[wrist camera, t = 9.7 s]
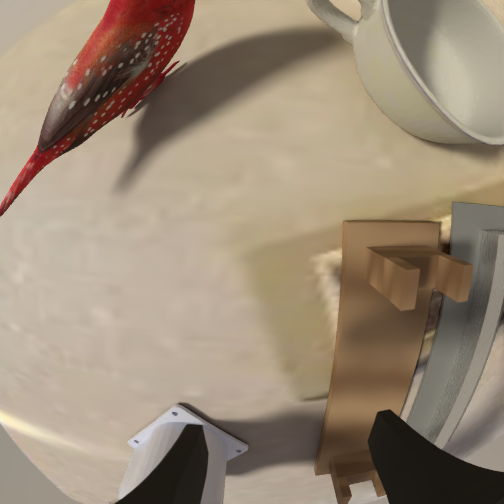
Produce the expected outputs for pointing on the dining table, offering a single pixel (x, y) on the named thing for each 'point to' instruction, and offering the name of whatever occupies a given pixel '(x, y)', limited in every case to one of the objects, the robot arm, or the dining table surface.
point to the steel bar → (472, 338)
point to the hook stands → (380, 335)
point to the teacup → (429, 65)
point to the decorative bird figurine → (108, 77)
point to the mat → (454, 311)
